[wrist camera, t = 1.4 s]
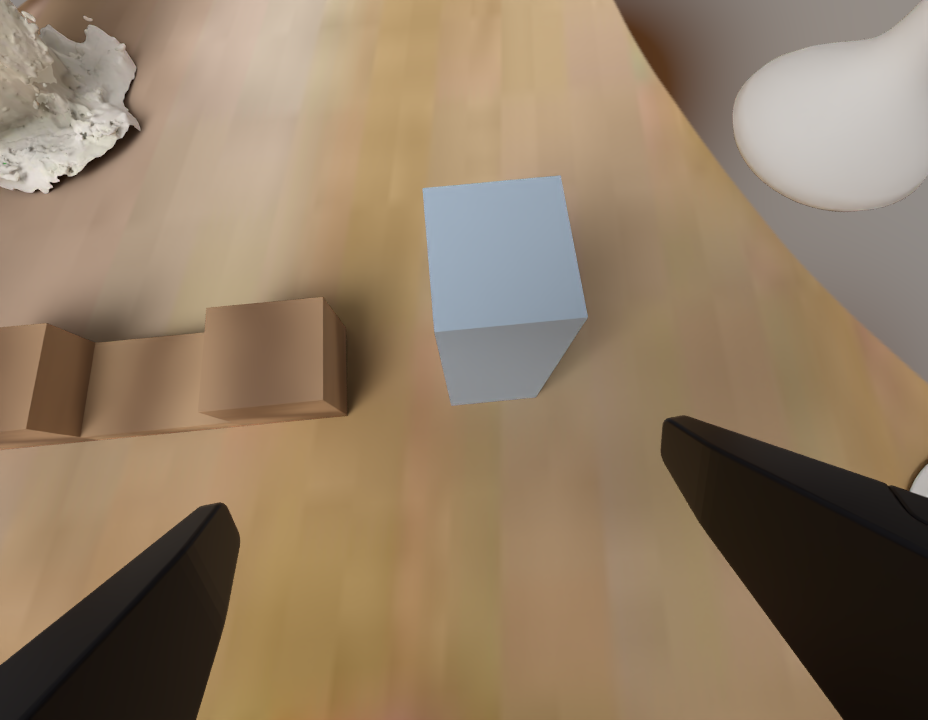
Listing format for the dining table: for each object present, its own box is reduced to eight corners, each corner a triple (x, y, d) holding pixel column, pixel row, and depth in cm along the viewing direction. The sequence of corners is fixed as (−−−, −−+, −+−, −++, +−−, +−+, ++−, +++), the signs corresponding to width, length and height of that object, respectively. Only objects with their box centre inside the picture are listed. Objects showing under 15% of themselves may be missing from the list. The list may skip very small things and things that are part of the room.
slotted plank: (345, 327, 25) (322, 296, 21) (347, 415, 23) (323, 399, 19) (13, 359, 24) (-72, 334, 21) (-7, 450, 23) (-102, 441, 19)
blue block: (535, 397, 23) (588, 317, 13) (451, 405, 23) (434, 332, 13) (523, 310, 25) (560, 175, 14) (443, 318, 25) (422, 188, 14)
